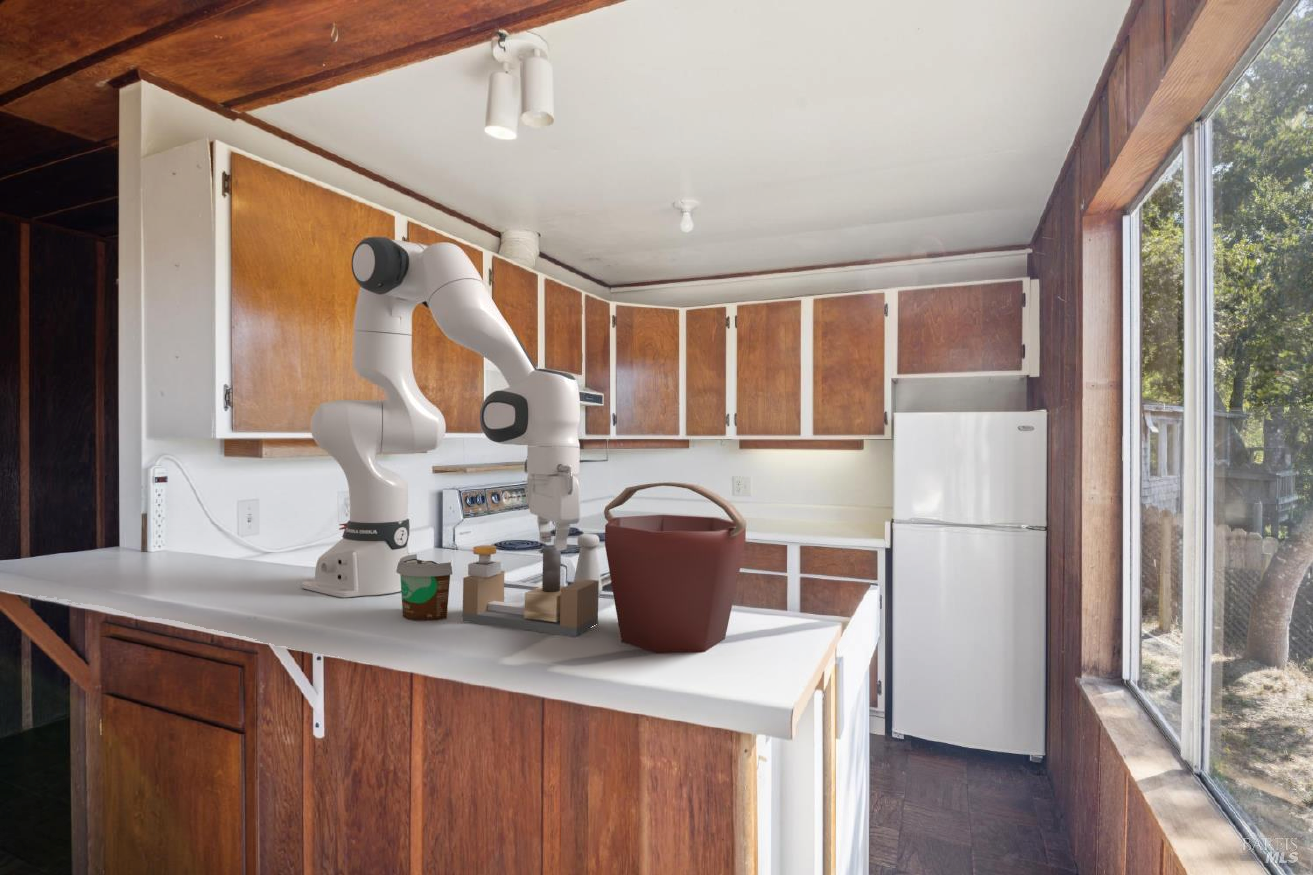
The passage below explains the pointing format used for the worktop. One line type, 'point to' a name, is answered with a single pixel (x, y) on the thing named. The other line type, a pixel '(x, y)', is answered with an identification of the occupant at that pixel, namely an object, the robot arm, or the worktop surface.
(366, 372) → the robot arm
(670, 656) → the worktop surface
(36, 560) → the worktop surface
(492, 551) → the knob
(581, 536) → the salt shaker
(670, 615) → the bucket
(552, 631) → the rail board
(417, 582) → the food container
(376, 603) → the worktop surface
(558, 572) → the carriage
